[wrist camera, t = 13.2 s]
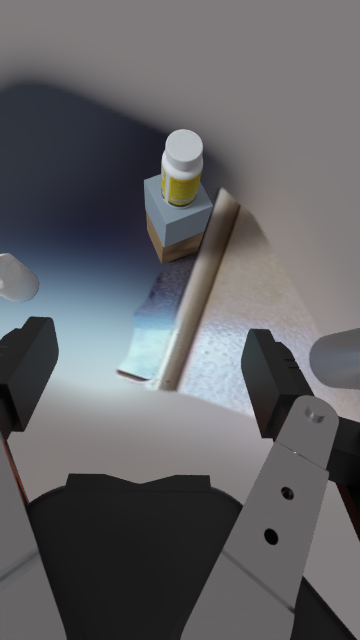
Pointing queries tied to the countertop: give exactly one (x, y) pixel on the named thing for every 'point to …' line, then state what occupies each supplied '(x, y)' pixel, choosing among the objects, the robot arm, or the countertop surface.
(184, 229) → the slate block
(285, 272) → the countertop surface
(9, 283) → the white bottle
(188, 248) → the walnut block
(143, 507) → the robot arm
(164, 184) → the supplement bottle
